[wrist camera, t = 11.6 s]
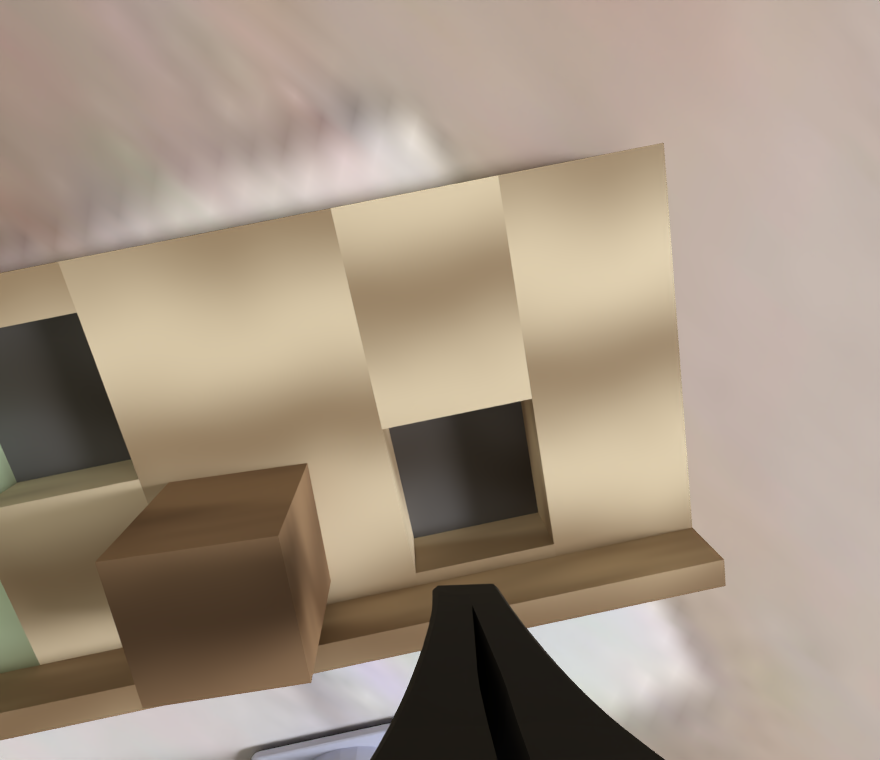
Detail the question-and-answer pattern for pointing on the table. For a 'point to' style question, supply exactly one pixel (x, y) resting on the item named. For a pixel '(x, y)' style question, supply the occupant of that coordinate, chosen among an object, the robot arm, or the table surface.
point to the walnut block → (220, 586)
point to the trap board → (357, 413)
